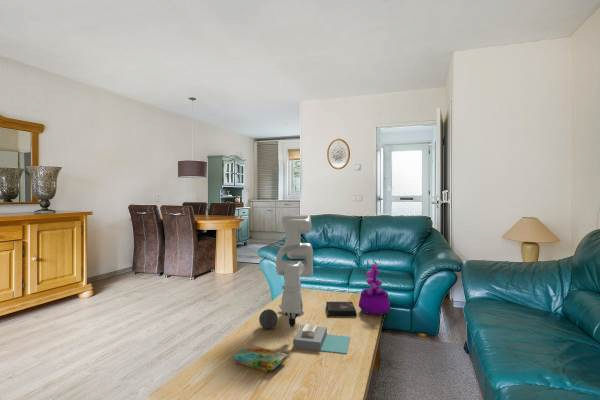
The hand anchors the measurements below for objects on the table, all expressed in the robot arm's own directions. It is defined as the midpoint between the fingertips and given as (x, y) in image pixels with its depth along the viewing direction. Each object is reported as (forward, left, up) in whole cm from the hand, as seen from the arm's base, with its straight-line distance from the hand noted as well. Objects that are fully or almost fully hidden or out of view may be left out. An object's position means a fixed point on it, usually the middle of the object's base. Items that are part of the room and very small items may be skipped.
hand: (292, 325), depth 164 cm
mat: (+22, +1, -7) cm, 23 cm away
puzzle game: (-7, -26, -7) cm, 27 cm away
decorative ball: (-16, +11, -7) cm, 21 cm away
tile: (+9, +1, -3) cm, 9 cm away
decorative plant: (+39, +49, -7) cm, 63 cm away
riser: (+9, +1, -7) cm, 12 cm away
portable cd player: (+19, +46, -8) cm, 50 cm away
